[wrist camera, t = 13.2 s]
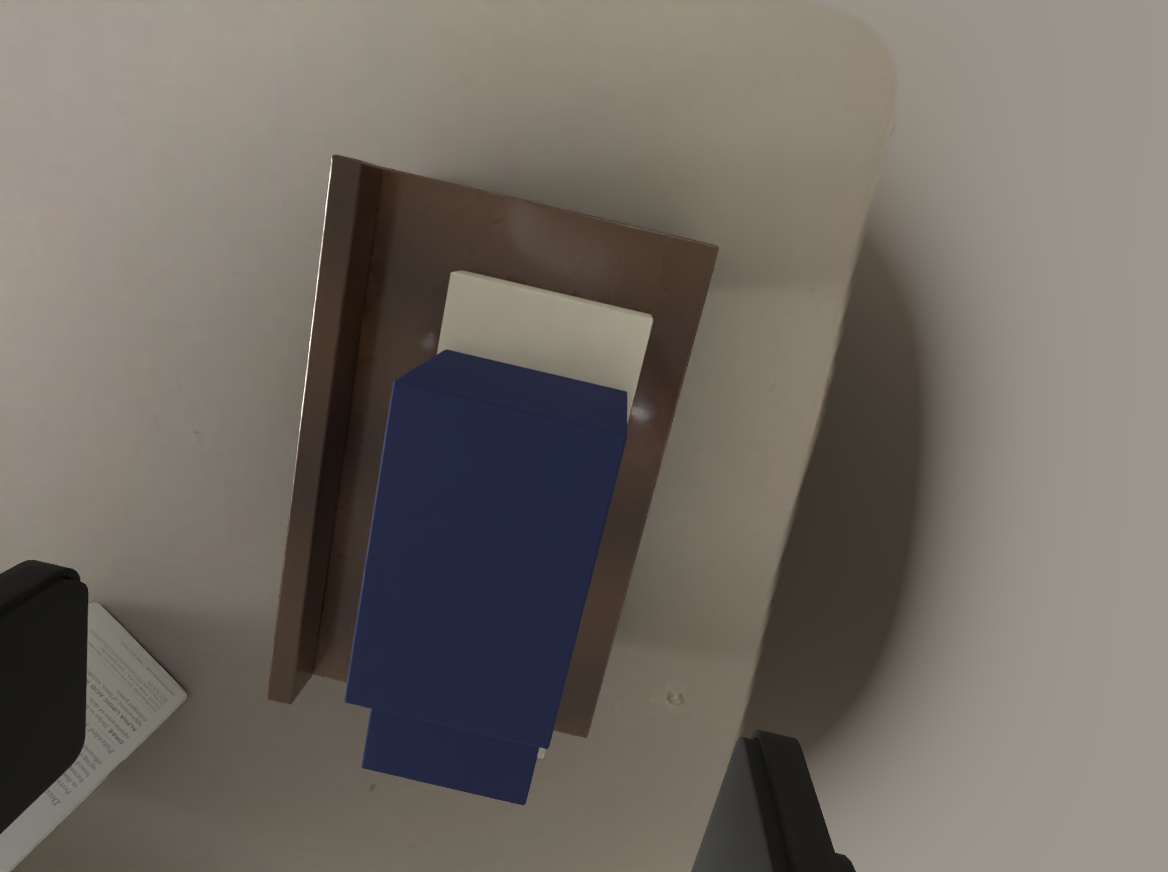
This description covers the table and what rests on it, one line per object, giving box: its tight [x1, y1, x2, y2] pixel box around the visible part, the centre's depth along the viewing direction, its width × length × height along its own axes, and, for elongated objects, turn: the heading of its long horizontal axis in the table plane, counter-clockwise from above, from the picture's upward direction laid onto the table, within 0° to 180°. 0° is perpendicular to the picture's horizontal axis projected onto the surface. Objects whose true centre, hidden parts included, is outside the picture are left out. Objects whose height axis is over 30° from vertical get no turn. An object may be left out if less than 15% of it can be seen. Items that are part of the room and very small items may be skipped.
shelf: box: [267, 155, 719, 738], centre depth 23 cm, size 16×10×8 cm, turn 167°
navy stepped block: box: [344, 270, 653, 805], centre depth 19 cm, size 14×5×6 cm, turn 167°
